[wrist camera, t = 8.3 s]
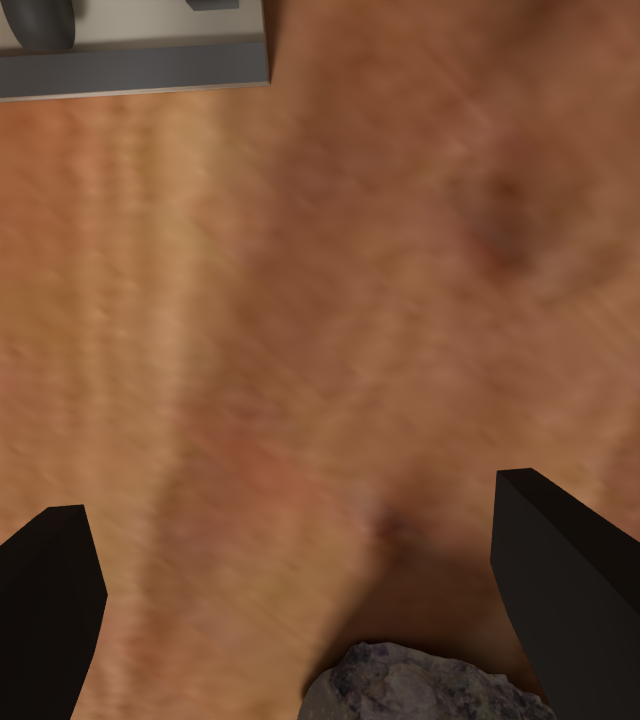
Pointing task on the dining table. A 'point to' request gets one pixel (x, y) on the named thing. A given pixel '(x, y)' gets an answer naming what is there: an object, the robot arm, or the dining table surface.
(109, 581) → the dining table surface
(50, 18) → the wooden trolley
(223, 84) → the dock
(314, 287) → the dining table surface
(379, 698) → the mineral rock
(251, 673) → the dining table surface
